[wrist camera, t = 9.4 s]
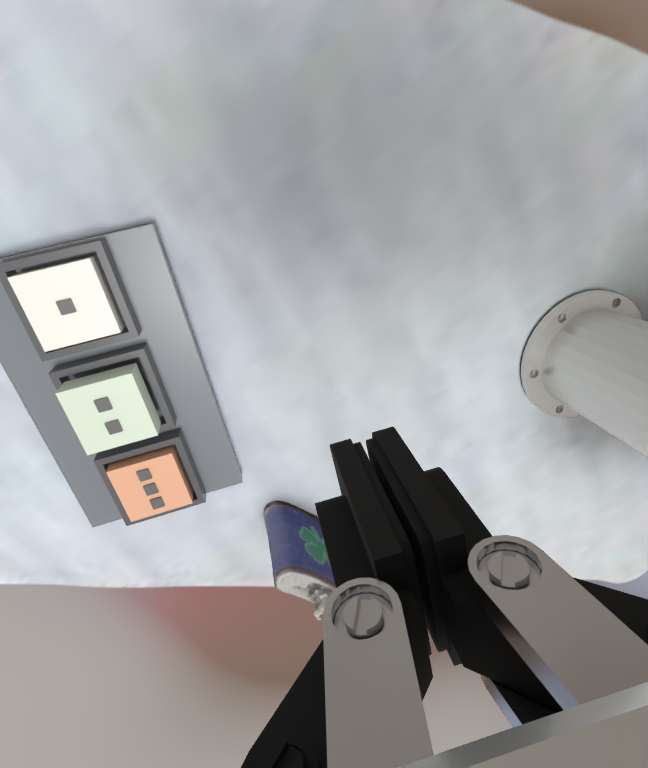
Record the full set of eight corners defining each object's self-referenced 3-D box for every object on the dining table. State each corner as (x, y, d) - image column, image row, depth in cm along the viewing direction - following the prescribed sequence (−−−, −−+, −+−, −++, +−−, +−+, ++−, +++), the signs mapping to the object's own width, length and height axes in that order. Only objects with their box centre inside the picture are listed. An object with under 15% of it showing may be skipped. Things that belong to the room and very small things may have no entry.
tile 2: (136, 362, 32) (131, 374, 30) (161, 422, 35) (157, 436, 33) (64, 381, 32) (54, 394, 30) (94, 441, 34) (86, 456, 32)
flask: (257, 513, 44) (270, 606, 34) (277, 492, 43) (296, 580, 34) (326, 552, 48) (355, 645, 38) (345, 533, 47) (379, 622, 38)
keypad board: (154, 222, 32) (149, 225, 29) (241, 472, 42) (243, 492, 39) (-39, 267, 31) (-64, 275, 28) (96, 515, 40) (88, 539, 37)
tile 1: (97, 253, 30) (89, 258, 29) (126, 324, 33) (120, 333, 31) (19, 272, 30) (5, 278, 28) (54, 342, 32) (43, 352, 30)
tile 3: (173, 440, 37) (171, 454, 35) (193, 488, 39) (192, 504, 37) (111, 458, 36) (105, 473, 34) (135, 506, 39) (130, 523, 37)
